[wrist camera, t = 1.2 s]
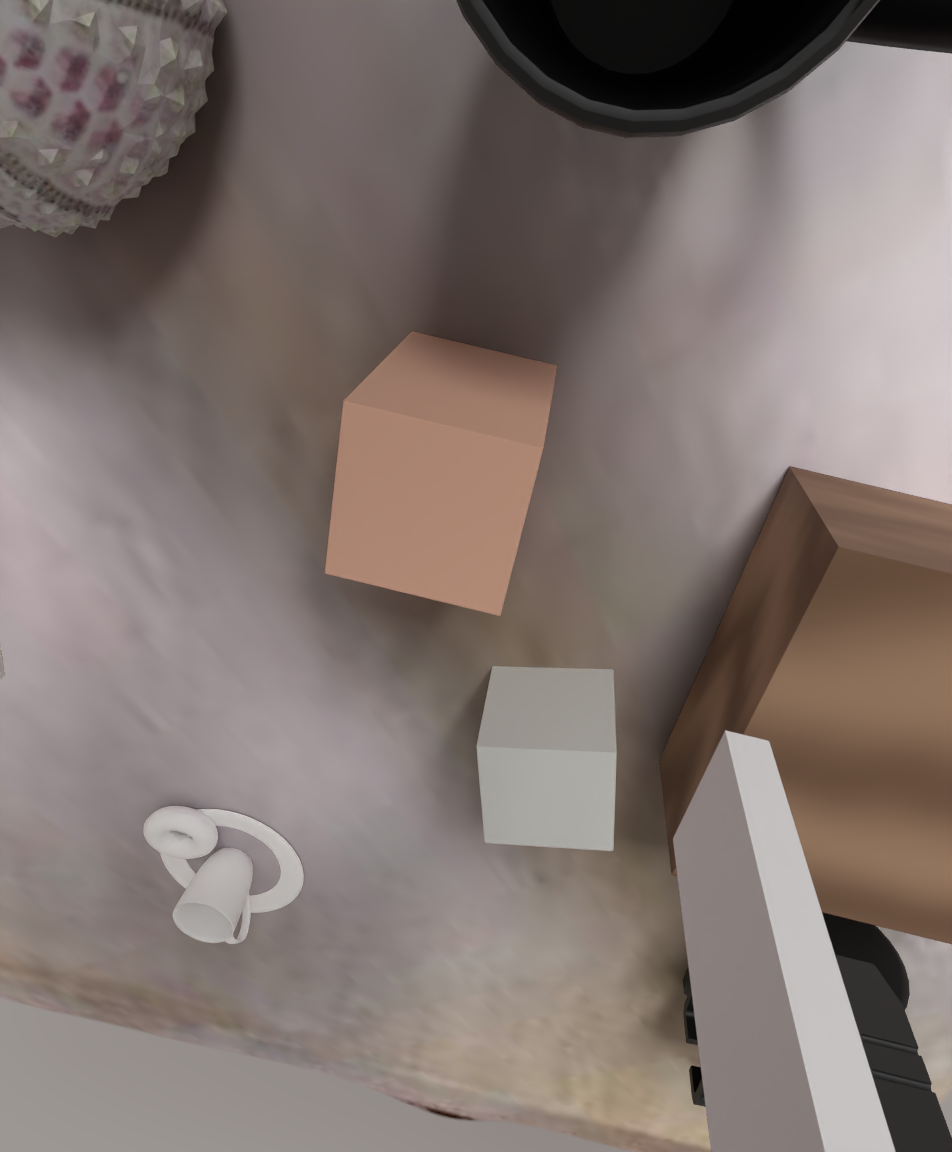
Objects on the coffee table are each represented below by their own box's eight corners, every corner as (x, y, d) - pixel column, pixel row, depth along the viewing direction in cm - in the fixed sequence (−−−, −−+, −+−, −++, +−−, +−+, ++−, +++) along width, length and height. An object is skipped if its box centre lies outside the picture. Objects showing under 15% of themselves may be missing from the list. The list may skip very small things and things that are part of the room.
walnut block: (789, 466, 26) (838, 546, 21) (1195, 562, 25) (1349, 668, 20) (659, 760, 33) (671, 874, 28) (976, 837, 33) (1048, 968, 27)
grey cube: (492, 664, 32) (476, 746, 27) (613, 668, 31) (616, 752, 27) (498, 755, 34) (484, 843, 30) (611, 760, 33) (613, 851, 29)
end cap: (813, 1013, 40) (850, 1161, 34) (678, 989, 41) (692, 1130, 35) (878, 890, 35) (935, 1039, 29) (724, 865, 36) (749, 1006, 30)
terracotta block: (412, 331, 25) (343, 400, 18) (557, 365, 25) (543, 448, 18) (391, 467, 28) (324, 573, 21) (523, 499, 28) (500, 615, 21)
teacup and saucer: (138, 789, 39) (93, 852, 35) (283, 791, 38) (251, 858, 34) (188, 901, 43) (152, 968, 40) (320, 907, 42) (295, 977, 38)
